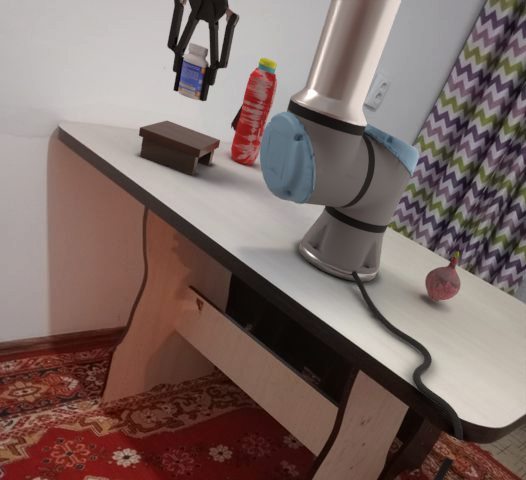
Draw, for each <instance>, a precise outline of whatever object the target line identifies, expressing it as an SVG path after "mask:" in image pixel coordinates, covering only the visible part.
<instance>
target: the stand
mask: <svg viewBox="0 0 526 480" xmlns="http://www.w3.org/2000/svg"><path fill="white" fill-rule="evenodd" d="M138 136H139V137H141V138H142V141H141V148H140V155H139V157H141V158H142V159H143V158H144V159H146V160H149V161H151V162H155V163H156V164H159V165H162V166H164V167H167V168H169V169H173V170H175V171H178V172H181V173H184V174H186V175H189V176H194V175H195V174H196V172H197V168H198V163H201V164H203V165H206V166H210V165H211V164H212V163H213V158H214V154H215V150H217V149H218V148H220V143H221V139H219V138H216V137H212V136H210V135H209V134H208V135H207V134H205V133H203V132H199V131H197V130H194V129H191V128H189V127H186V126H184V125H180V124H178V123H176V122H173V121H169V120H163V121H160V122H156V123H152V124H148V125H144V126H140V127H139V131H138Z"/></svg>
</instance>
